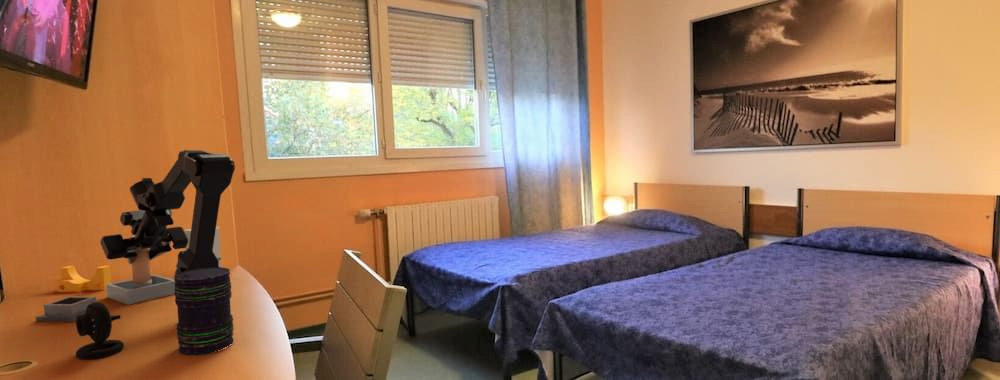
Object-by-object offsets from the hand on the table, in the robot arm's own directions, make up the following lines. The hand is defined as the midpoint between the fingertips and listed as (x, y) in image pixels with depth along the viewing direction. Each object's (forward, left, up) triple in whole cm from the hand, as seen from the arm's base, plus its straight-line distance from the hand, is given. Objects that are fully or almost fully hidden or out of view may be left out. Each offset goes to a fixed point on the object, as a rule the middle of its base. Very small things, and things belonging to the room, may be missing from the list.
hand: (138, 261), depth 142 cm
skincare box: (+6, -20, -9) cm, 23 cm away
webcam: (-38, +23, -9) cm, 45 cm away
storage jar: (-52, +10, -9) cm, 54 cm away
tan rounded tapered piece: (-1, 0, -7) cm, 7 cm away
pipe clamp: (+19, +6, -9) cm, 22 cm away
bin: (-1, 0, -9) cm, 9 cm away
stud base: (-5, +17, -9) cm, 20 cm away
